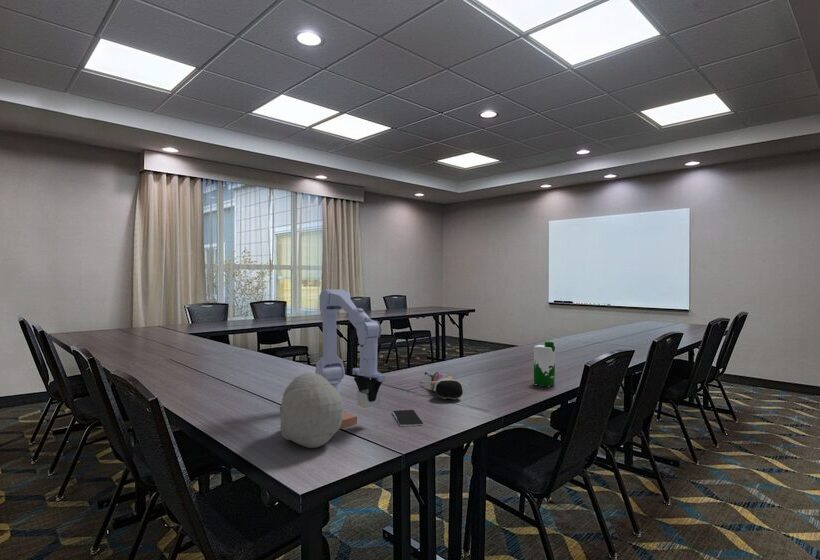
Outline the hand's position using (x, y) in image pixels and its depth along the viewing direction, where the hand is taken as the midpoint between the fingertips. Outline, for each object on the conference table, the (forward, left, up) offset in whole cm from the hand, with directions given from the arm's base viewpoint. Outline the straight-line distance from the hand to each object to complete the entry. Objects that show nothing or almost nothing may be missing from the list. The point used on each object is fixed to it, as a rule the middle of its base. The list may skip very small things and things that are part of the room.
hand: (367, 399), depth 142 cm
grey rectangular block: (0, 0, -2) cm, 2 cm away
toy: (-12, +51, -9) cm, 53 cm away
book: (-10, -6, -9) cm, 15 cm away
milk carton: (+9, +96, -9) cm, 97 cm away
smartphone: (+3, +15, -9) cm, 17 cm away
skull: (-2, -21, -9) cm, 23 cm away
